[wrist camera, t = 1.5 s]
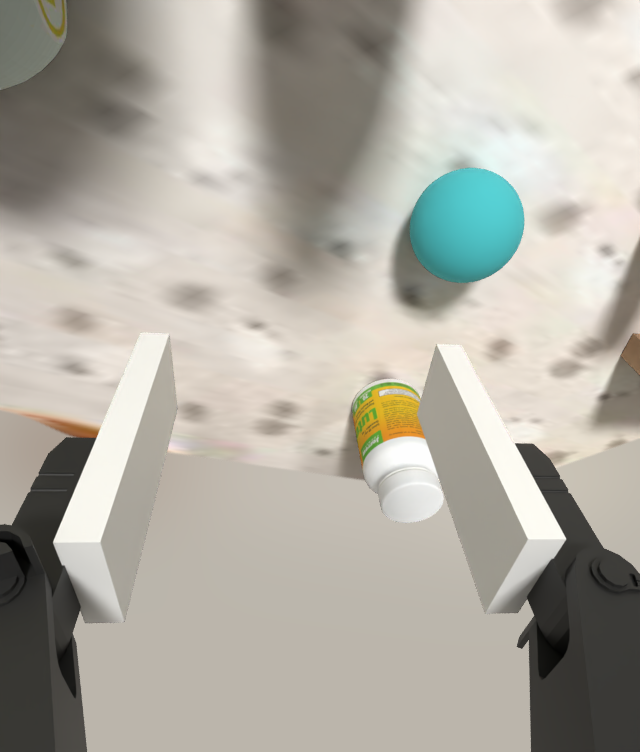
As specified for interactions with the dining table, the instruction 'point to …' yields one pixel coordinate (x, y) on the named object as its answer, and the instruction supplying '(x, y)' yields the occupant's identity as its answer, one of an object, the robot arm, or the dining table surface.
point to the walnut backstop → (633, 352)
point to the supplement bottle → (396, 451)
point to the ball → (466, 225)
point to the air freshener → (29, 37)
